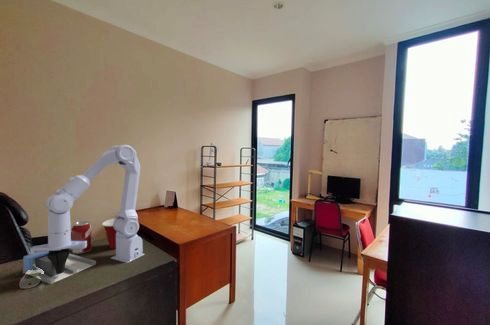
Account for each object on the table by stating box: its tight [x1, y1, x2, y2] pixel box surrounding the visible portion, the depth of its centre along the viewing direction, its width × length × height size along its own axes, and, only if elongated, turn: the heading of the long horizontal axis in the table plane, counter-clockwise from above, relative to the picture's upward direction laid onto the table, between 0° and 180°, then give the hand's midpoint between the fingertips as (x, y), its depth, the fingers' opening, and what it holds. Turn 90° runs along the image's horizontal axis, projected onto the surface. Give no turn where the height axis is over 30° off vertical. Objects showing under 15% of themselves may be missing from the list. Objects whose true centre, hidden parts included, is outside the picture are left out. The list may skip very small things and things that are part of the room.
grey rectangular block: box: [34, 254, 64, 277], centre depth 78 cm, size 10×4×4 cm, turn 65°
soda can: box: [71, 220, 93, 255], centre depth 95 cm, size 7×7×12 cm
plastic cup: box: [101, 217, 117, 250], centre depth 100 cm, size 11×11×12 cm
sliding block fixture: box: [22, 252, 97, 285], centre depth 80 cm, size 16×14×6 cm
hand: (60, 272), depth 75 cm, fingers closed
